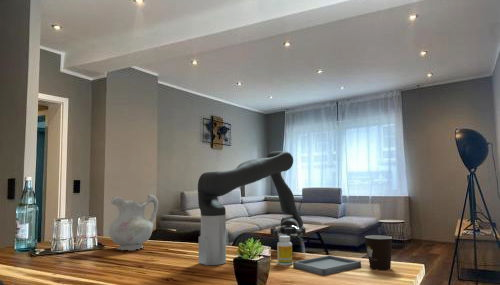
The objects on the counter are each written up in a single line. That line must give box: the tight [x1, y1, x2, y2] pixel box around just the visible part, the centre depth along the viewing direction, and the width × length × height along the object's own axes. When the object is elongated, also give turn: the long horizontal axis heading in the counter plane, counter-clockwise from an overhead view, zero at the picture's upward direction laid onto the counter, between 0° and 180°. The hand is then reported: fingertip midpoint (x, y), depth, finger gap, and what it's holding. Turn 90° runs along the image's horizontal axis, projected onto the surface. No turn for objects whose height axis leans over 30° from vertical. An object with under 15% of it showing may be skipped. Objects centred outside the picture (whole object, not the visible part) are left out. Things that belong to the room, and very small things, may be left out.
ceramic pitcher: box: [108, 194, 159, 251], centre depth 168 cm, size 22×20×25 cm
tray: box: [292, 254, 362, 276], centre depth 121 cm, size 18×14×2 cm
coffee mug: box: [364, 234, 393, 271], centre depth 121 cm, size 12×9×10 cm
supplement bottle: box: [276, 235, 294, 266], centre depth 128 cm, size 5×5×10 cm
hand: (287, 233), depth 140 cm, fingers open, 8 cm apart
